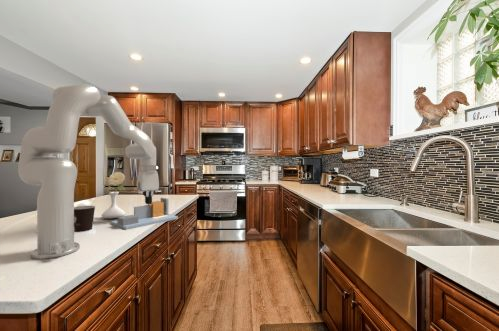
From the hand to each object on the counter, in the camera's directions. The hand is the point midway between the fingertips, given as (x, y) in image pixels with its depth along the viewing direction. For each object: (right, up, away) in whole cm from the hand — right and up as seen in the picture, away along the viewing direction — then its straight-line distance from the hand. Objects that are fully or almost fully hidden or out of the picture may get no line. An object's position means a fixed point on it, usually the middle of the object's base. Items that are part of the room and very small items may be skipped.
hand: (148, 203), depth 124 cm
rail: (0, -8, -3) cm, 9 cm away
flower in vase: (-20, -9, +4) cm, 22 cm away
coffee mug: (-22, -9, -18) cm, 29 cm away
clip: (+3, -7, +3) cm, 8 cm away
